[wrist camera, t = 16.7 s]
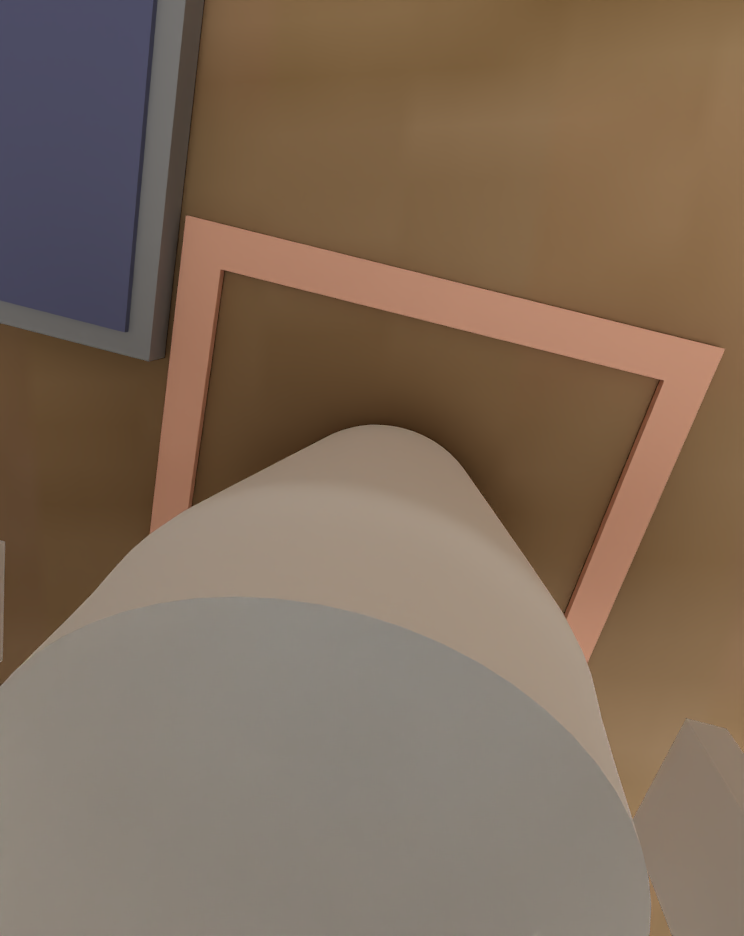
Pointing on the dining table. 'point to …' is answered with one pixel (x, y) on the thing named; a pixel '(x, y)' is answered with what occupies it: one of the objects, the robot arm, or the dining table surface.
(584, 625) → the mark frame
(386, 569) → the cup
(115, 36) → the ink pad
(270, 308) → the dining table surface
